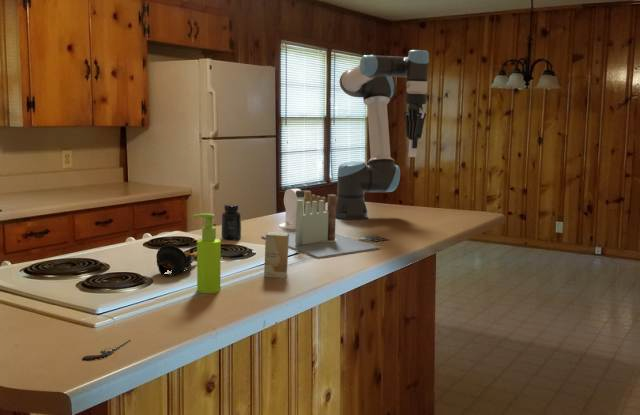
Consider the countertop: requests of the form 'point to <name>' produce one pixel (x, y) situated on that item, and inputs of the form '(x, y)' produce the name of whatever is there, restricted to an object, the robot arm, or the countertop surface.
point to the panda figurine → (291, 206)
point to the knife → (93, 357)
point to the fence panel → (311, 223)
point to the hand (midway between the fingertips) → (412, 156)
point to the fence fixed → (330, 209)
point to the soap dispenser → (208, 257)
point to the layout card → (330, 246)
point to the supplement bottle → (231, 222)
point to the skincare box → (276, 254)
